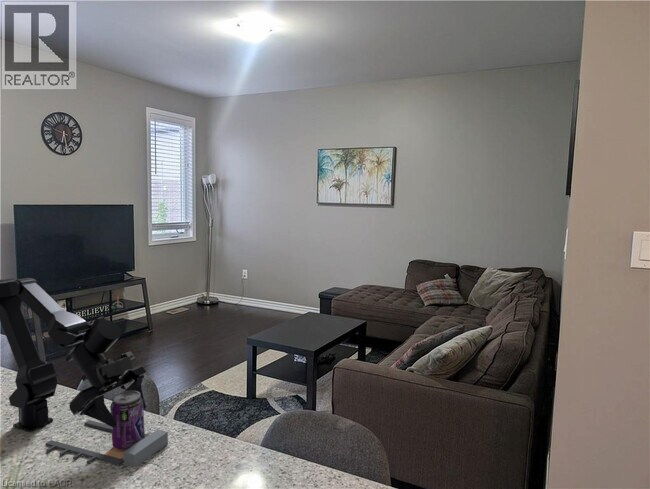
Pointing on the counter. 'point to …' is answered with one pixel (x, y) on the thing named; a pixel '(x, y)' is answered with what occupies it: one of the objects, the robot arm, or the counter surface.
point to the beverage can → (127, 419)
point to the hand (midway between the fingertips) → (130, 417)
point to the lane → (115, 456)
